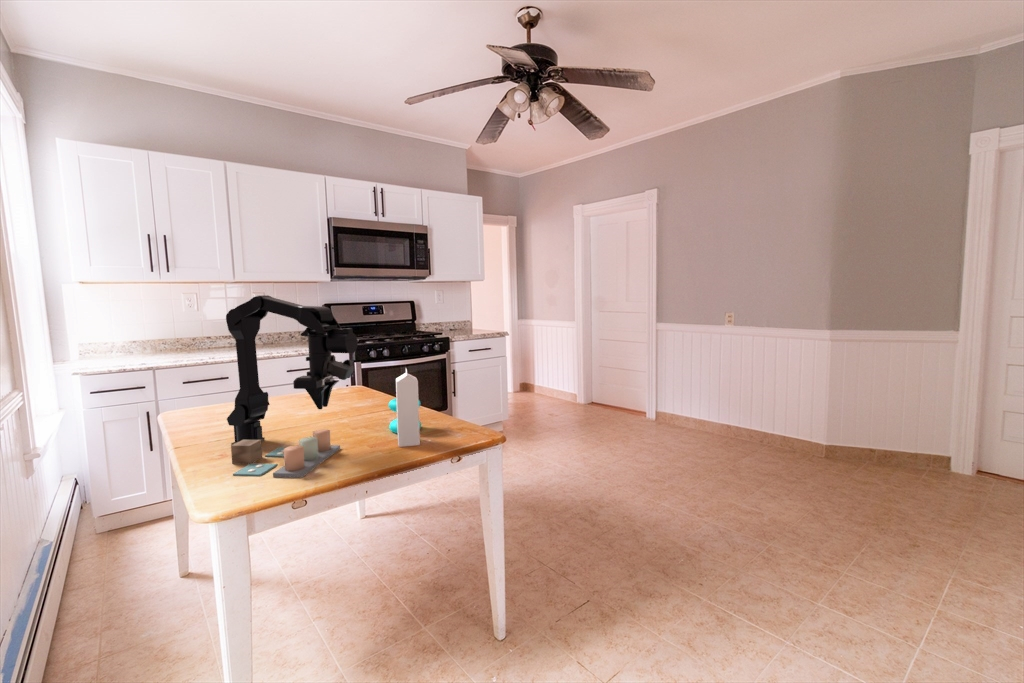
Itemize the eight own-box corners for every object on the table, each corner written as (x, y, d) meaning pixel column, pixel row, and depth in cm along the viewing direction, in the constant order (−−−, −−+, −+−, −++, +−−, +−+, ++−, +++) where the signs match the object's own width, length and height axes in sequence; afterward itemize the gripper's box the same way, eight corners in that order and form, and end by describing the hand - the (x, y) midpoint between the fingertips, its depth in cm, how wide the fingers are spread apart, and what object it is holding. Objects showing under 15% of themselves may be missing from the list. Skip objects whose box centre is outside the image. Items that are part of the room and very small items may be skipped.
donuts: (415, 403, 143) (383, 403, 144) (416, 435, 144) (384, 434, 145) (424, 396, 153) (394, 396, 154) (424, 425, 154) (395, 425, 155)
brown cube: (232, 464, 121) (230, 445, 120) (244, 457, 126) (243, 439, 125) (250, 464, 120) (249, 445, 120) (262, 457, 125) (261, 439, 125)
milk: (398, 447, 133) (395, 371, 130) (397, 441, 138) (394, 367, 136) (420, 445, 134) (417, 369, 132) (418, 438, 140) (415, 366, 138)
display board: (273, 477, 111) (271, 452, 111) (316, 448, 132) (315, 427, 132) (301, 477, 111) (299, 453, 110) (340, 448, 132) (339, 428, 131)
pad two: (232, 475, 113) (232, 472, 113) (251, 464, 120) (251, 462, 120) (260, 476, 112) (260, 473, 112) (277, 465, 119) (277, 463, 119)
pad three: (265, 456, 126) (265, 454, 126) (280, 448, 133) (279, 446, 133) (290, 457, 125) (290, 455, 125) (303, 448, 132) (303, 446, 132)
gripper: (332, 357, 118) (335, 417, 120) (361, 348, 137) (363, 400, 138) (290, 357, 119) (294, 416, 121) (325, 348, 138) (327, 400, 139)
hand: (322, 407), depth 130 cm, fingers open, 3 cm apart
